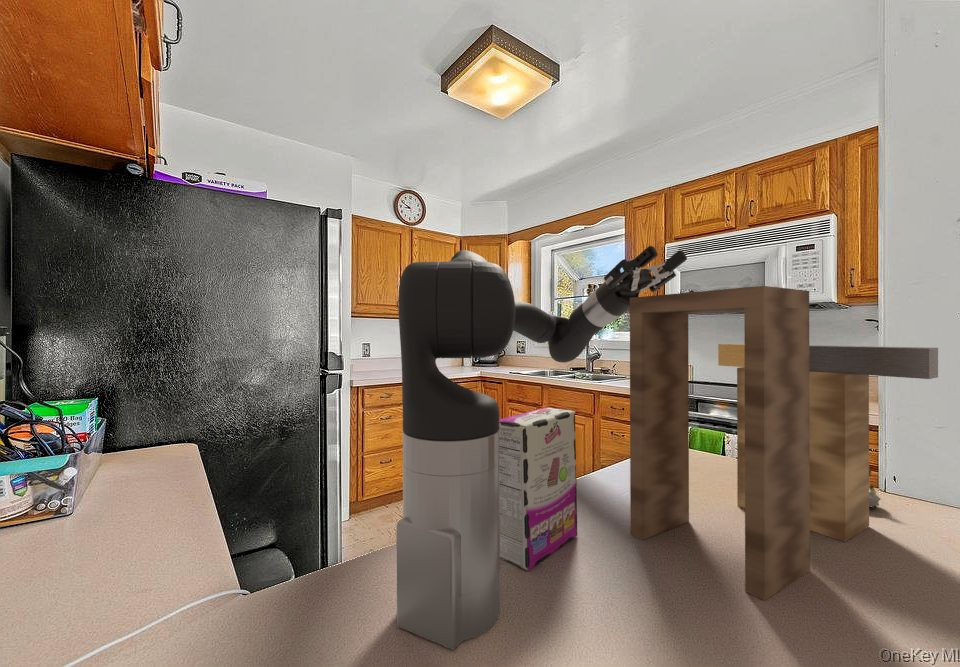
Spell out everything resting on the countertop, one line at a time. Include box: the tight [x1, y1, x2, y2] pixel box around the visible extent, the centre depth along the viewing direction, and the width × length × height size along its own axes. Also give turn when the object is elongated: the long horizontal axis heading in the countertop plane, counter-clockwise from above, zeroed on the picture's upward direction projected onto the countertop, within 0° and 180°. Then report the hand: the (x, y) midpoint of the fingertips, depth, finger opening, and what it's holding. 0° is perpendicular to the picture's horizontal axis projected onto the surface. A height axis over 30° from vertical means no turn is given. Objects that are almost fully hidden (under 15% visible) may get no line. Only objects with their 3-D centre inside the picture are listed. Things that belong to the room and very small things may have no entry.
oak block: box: [736, 367, 870, 543], centre depth 60 cm, size 13×8×21 cm, turn 31°
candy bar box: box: [499, 407, 579, 571], centre depth 52 cm, size 11×5×16 cm, turn 137°
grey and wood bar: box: [717, 343, 939, 380], centre depth 59 cm, size 24×4×4 cm, turn 31°
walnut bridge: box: [629, 285, 811, 601], centre depth 51 cm, size 10×16×31 cm, turn 31°
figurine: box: [869, 469, 882, 507], centre depth 64 cm, size 5×4×6 cm
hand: (669, 252), depth 76 cm, fingers open, 8 cm apart
